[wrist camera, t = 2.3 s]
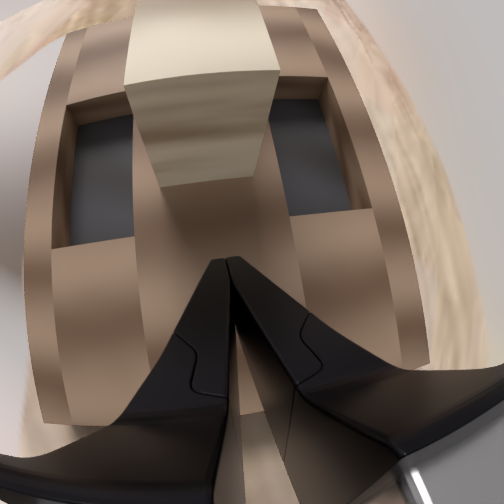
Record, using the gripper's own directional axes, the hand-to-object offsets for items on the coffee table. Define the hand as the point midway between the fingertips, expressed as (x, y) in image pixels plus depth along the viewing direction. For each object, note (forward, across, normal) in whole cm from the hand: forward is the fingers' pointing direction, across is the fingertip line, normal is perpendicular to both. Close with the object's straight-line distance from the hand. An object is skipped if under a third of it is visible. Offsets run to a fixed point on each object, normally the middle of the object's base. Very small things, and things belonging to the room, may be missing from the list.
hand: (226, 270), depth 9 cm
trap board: (+12, 0, +1) cm, 12 cm away
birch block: (+12, 0, -3) cm, 13 cm away
